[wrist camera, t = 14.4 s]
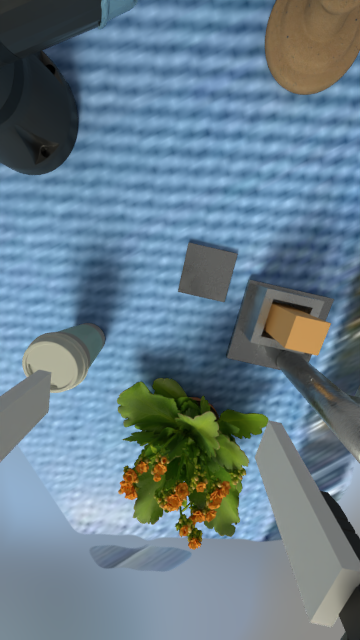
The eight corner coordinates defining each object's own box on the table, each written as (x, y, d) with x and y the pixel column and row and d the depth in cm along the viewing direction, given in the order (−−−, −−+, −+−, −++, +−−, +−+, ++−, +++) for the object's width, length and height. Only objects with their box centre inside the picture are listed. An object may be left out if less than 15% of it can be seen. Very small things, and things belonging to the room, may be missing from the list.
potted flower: (256, 356, 40) (304, 424, 24) (264, 462, 46) (307, 578, 29) (122, 373, 42) (78, 446, 26) (146, 472, 48) (122, 586, 31)
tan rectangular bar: (263, 299, 37) (296, 315, 25) (286, 304, 37) (330, 323, 25) (255, 321, 38) (284, 348, 26) (278, 327, 38) (317, 355, 26)
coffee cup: (59, 321, 40) (7, 344, 29) (104, 310, 40) (68, 330, 28) (76, 363, 42) (32, 401, 31) (118, 354, 42) (90, 390, 30)
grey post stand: (248, 279, 37) (326, 301, 16) (360, 305, 37) (586, 360, 16) (226, 355, 41) (265, 457, 19) (328, 378, 41) (478, 504, 20)
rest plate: (188, 242, 36) (188, 242, 36) (236, 254, 36) (237, 253, 36) (178, 291, 38) (177, 291, 38) (223, 301, 38) (224, 302, 38)
